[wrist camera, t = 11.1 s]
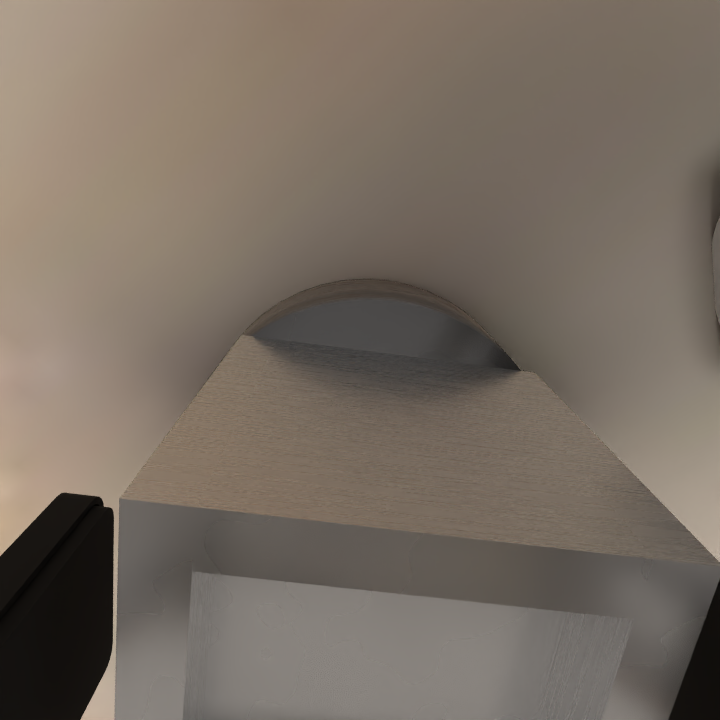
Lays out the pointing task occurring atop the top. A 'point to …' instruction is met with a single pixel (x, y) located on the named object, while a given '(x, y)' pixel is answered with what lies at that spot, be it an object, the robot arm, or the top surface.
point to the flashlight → (716, 267)
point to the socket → (396, 552)
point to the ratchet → (381, 323)
